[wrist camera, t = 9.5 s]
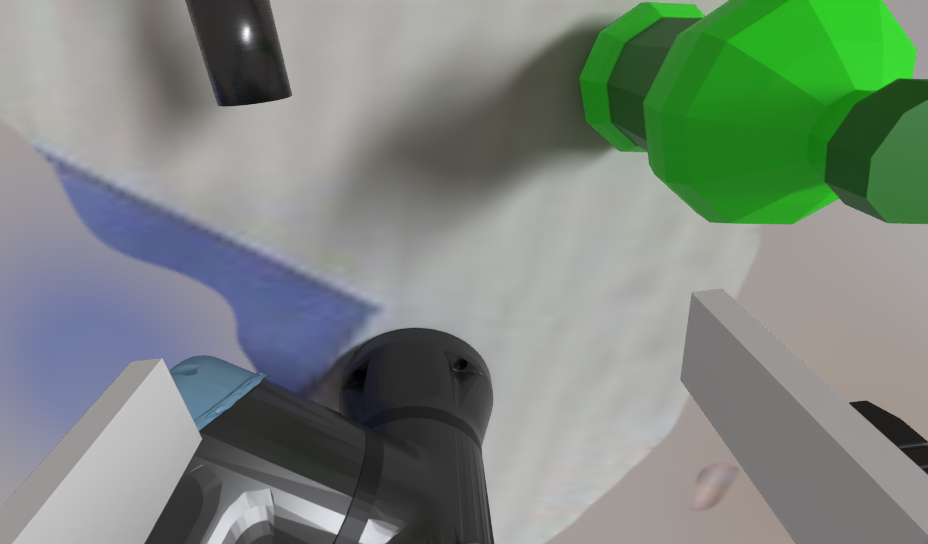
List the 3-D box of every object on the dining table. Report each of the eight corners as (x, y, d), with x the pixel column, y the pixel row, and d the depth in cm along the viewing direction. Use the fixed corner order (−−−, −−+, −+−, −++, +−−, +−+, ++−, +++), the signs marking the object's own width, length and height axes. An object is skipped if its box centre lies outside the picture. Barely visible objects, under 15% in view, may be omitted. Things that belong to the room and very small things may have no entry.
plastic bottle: (542, 120, 38) (700, 261, 15) (606, -28, 33) (953, -129, 11) (652, 163, 40) (930, 341, 17) (725, 28, 35) (1219, 38, 13)
